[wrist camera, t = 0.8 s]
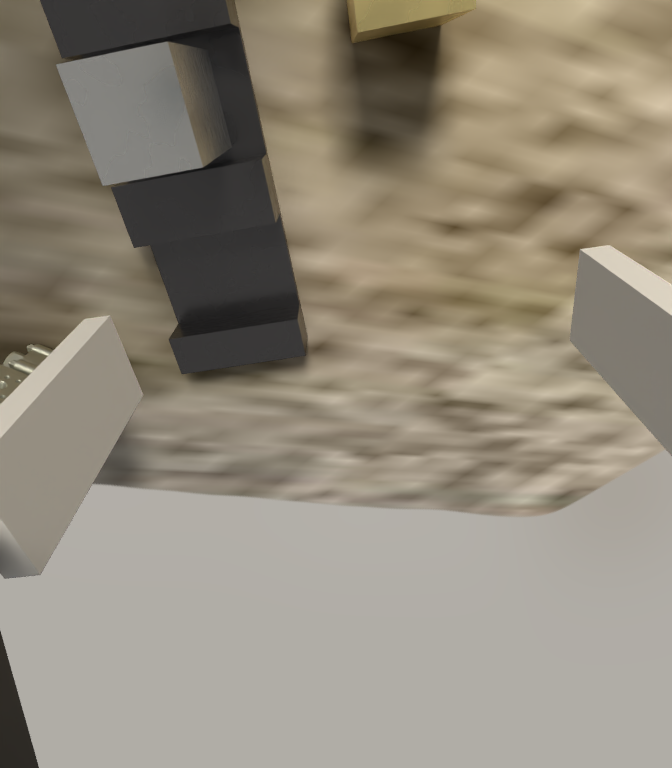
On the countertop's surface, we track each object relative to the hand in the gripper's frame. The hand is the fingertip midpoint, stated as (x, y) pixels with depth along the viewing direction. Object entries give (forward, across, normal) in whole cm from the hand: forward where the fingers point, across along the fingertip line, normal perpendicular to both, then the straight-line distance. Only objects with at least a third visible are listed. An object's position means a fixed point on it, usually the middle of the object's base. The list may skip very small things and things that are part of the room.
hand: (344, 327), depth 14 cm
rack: (+21, -8, +1) cm, 23 cm away
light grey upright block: (+21, -8, +6) cm, 23 cm away
